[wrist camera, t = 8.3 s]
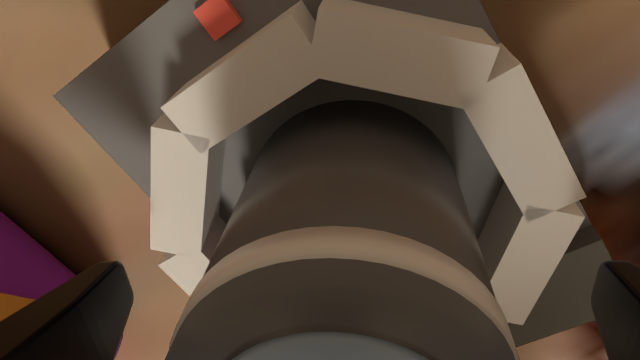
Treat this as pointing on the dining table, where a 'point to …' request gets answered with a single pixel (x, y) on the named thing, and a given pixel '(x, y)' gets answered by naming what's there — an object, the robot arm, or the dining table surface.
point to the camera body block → (337, 85)
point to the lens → (347, 251)
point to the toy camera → (26, 269)
